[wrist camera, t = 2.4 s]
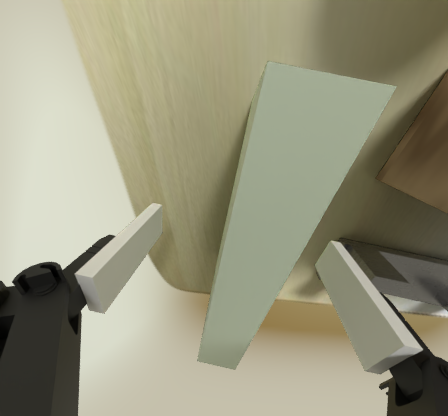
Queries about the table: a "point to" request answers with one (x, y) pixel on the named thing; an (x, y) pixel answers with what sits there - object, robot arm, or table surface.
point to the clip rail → (402, 272)
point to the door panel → (282, 192)
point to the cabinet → (423, 154)
